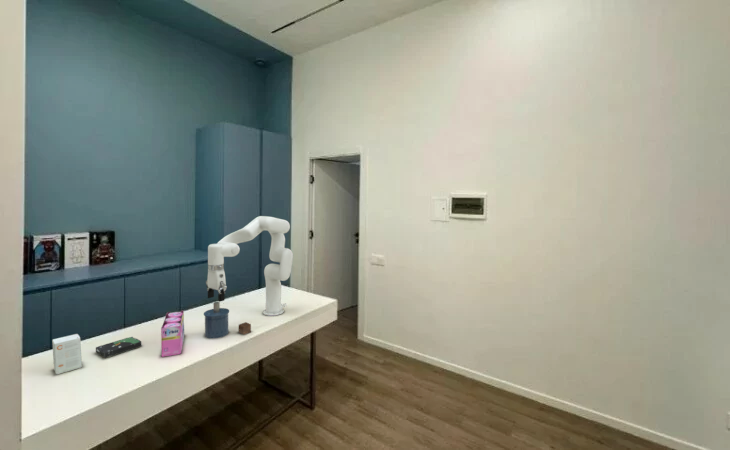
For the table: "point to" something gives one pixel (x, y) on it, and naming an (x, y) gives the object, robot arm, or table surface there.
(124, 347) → the disk drive
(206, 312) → the lid
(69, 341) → the small box
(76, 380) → the table surface
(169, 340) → the gum box
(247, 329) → the block
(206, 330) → the canister
